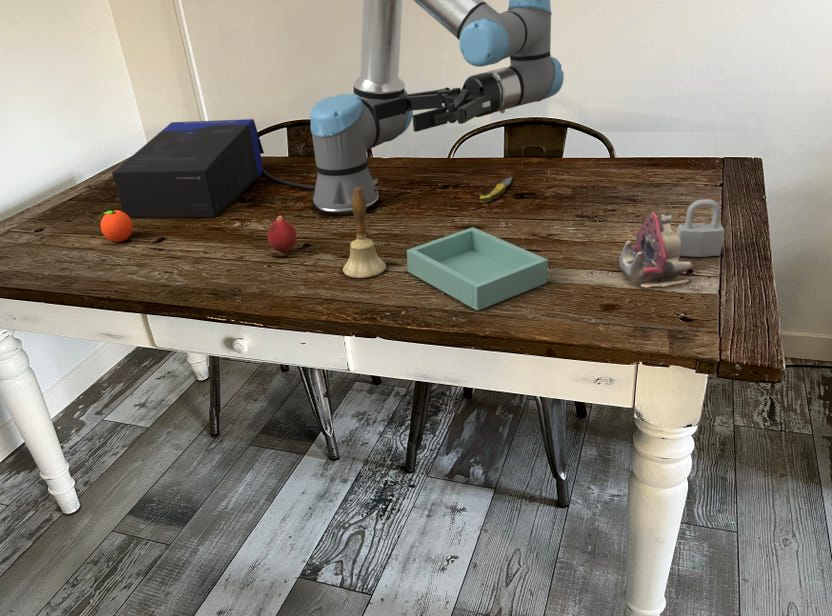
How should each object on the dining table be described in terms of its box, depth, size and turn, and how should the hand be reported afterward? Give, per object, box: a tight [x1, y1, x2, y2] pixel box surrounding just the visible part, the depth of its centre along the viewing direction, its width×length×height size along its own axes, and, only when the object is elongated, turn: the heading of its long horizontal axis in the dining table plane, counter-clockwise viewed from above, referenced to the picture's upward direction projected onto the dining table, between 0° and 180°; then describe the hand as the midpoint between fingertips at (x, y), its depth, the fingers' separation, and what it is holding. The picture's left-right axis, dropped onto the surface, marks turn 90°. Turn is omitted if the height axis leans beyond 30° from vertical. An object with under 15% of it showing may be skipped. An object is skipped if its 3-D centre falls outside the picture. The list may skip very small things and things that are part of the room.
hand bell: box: [342, 187, 387, 279], centre depth 138 cm, size 8×8×16 cm
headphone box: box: [111, 118, 265, 218], centre depth 188 cm, size 25×35×14 cm
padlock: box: [676, 198, 725, 258], centre depth 130 cm, size 7×4×10 cm, turn 78°
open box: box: [406, 226, 549, 312], centre depth 133 cm, size 20×15×4 cm
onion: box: [267, 215, 298, 255], centre depth 150 cm, size 6×6×8 cm
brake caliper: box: [618, 211, 693, 289], centre depth 126 cm, size 11×11×12 cm
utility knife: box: [479, 176, 513, 203], centre depth 170 cm, size 16×1×3 cm
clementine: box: [98, 209, 134, 243], centre depth 166 cm, size 8×7×7 cm
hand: (393, 118), depth 133 cm, fingers open, 13 cm apart
